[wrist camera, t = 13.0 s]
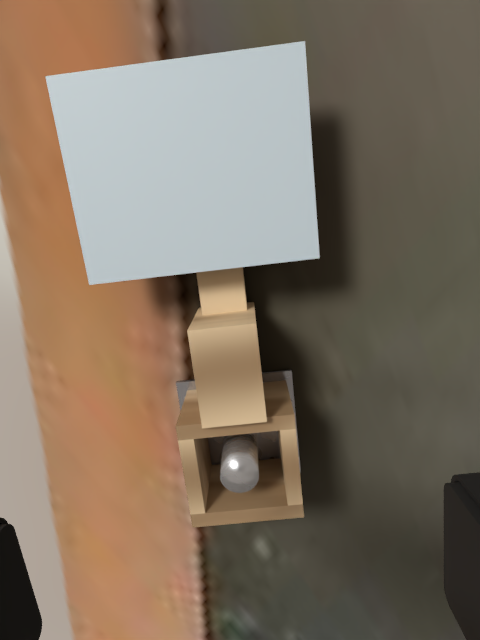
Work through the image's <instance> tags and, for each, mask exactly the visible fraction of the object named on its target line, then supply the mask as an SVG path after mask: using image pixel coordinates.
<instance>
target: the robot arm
mask: <svg viewBox="0 0 480 640" xmlns="http://www.w3.org/2000/svg"><path fill="white" fill-rule="evenodd" d="M444 589H445V594H446V598H447V601H448V603H449V606H450V608H451V610H452V612H453V614H454V616H455V618H456V620H457V622H458V624H459V626H460V628H461V630H462V632H463V634H464V636H465V638H466V640H480V473H469V474H459V475H454V476H453V477H452V479H451V483H446V484H445V485H444ZM41 629H42V619H41V615H40V612H39V609H38V605H37V602H36V598H35V595H34V592H33V589H32V585H31V582H30V579H29V575H28V572H27V569H26V565H25V562H24V559H23V556H22V552H21V549H20V546H19V542H18V539H17V536H16V532H15V529H14V527H13V526H12V525H11V524H8V523H7V521H6V520H5V519H4V518H0V640H39V637H40V634H41Z"/></svg>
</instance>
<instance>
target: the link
mask: <svg viewBox="0 0 480 640" xmlns="http://www.w3.org/2000/svg"><path fill="white" fill-rule="evenodd" d="M196 274H197V281H198V288H199V295H200V302H201V308H199V309H198V311H197V313H196V315H195V317H194V319H193V321H192V323H191V325H190V327H189V329H188V331H187V332H188V338H189V345H190V352H191V358H192V365H193V371H194V378H195V385H196V390H187V393H186V396H185V399H184V402H183V405H182V409H181V412H180V415H179V418H178V421H177V424H176V432H177V438H178V444H179V450H180V455H181V461H182V467H183V473H184V479H185V485H186V491H187V497H188V503H189V509H190V515H191V521H192V527H203V526H214V525H224V524H235V523H246V522H257V521H268V520H279V519H290V518H301V517H304V511H303V500H302V489H301V478H300V468H299V457H298V446H297V436H296V425H295V414H294V410H293V406H292V402H291V398H290V394H289V390H288V386H287V382H286V380H283V381H274V382H264V383H263V379H262V370H261V361H260V352H259V343H258V334H257V325H256V316H255V307H254V302H247V298H246V289H245V281H244V272H243V267H240V268H231V269H222V270H214V271H205V272H196ZM270 431H278V436H279V446H280V456H281V458H277V459H267V460H258V468H259V480H258V482H257V484H256V486H255V487H254V488H253V489H251V490H250V491H247V492H244V493H236V492H232V491H230V490H228V489H227V488H225V487H224V486H223V484H222V482H221V480H220V469H221V464H216V465H212V463H211V457H210V450H209V443H208V438H209V437H219V436H230V435H240V434H250V433H260V432H270Z"/></svg>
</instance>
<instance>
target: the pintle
mask: <svg viewBox="0 0 480 640" xmlns="http://www.w3.org/2000/svg"><path fill="white" fill-rule="evenodd" d="M262 379H263V383H264V382H274V381H283V380H286V382H287V386H288V390H289V394H290V398H291V402H292V406H293V410H294V414H295V425H296V436H297V446H298V435H297V424H296V413H295V402H294V391H293V380H292V370H291V369H289V370H280V371H270V372H262ZM176 385H177V391H178V397H179V403H180V409H182V405H183V402H184V399H185V396H186V393H187V390H196V385H195V380H185V381H177V382H176ZM208 443H209V450H210V457H211V463H212V465H216V464H221V469H220V480H221V482H222V484H223V486H224V487H225V488H227V489H228V490H230V491H232V492H236V493H244V492H247V491H250V490H251V489H253V488H254V487H255V486H256V484H257V482H258V480H259V468H258V460H267V459H277V458H281V456H280V446H279V436H278V431H270V432H260V433H250V434H240V435H230V436H219V437H209V438H208ZM298 457H299V446H298ZM299 468H300V472H301V467H300V457H299Z"/></svg>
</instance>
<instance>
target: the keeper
mask: <svg viewBox="0 0 480 640" xmlns="http://www.w3.org/2000/svg"><path fill="white" fill-rule="evenodd" d="M45 77H46V81H47V86H48V91H49V96H50V100H51V105H52V110H53V115H54V119H55V124H56V129H57V134H58V138H59V143H60V148H61V153H62V157H63V162H64V167H65V172H66V176H67V181H68V186H69V191H70V195H71V200H72V205H73V210H74V214H75V219H76V224H77V229H78V233H79V238H80V243H81V248H82V252H83V257H84V262H85V267H86V271H87V276H88V281H89V285H92V284H101V283H110V282H118V281H127V280H136V279H144V278H153V277H162V276H170V275H179V274H188V273H196V272H205V271H214V270H222V269H231V268H240V267H248V266H257V265H265V264H274V263H283V262H291V261H300V260H309V259H317V258H320V255H319V240H318V226H317V211H316V196H315V182H314V167H313V153H312V138H311V123H310V109H309V94H308V79H307V65H306V50H305V41H303V42H295V43H288V44H280V45H273V46H266V47H258V48H251V49H244V50H236V51H229V52H221V53H214V54H207V55H199V56H192V57H185V58H177V59H170V60H162V61H155V62H148V63H140V64H133V65H126V66H118V67H111V68H103V69H96V70H89V71H81V72H74V73H67V74H59V75H52V76H45Z"/></svg>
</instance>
